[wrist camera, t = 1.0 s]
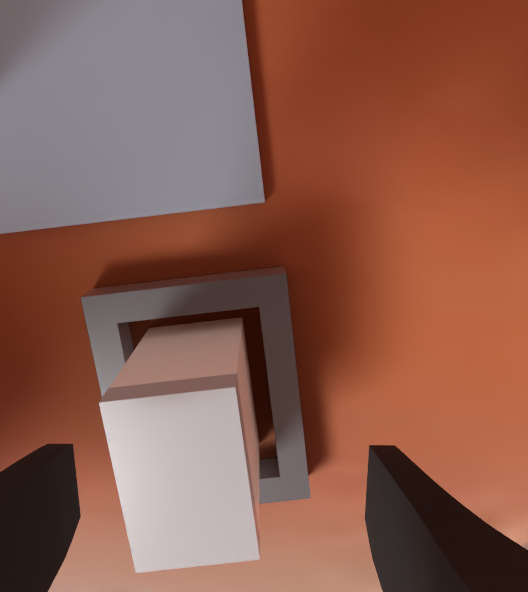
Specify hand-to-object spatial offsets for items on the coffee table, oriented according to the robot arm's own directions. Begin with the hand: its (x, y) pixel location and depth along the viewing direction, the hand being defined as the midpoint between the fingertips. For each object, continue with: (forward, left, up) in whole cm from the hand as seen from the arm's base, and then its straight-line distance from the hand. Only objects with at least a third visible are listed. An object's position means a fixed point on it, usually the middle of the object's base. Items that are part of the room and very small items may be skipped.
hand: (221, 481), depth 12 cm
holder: (-2, -2, -10) cm, 10 cm away
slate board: (-4, +11, -10) cm, 15 cm away
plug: (-2, -2, -10) cm, 10 cm away
